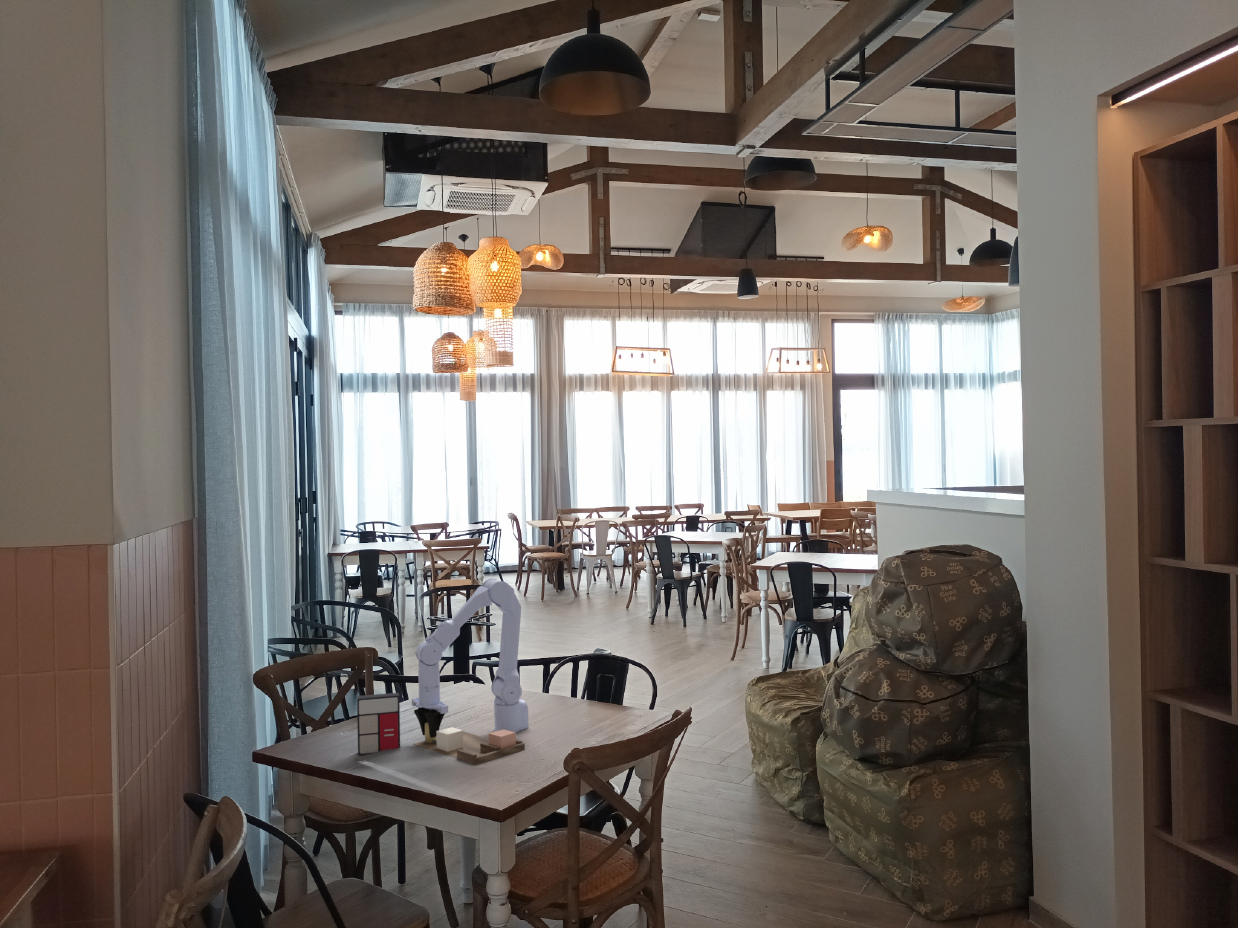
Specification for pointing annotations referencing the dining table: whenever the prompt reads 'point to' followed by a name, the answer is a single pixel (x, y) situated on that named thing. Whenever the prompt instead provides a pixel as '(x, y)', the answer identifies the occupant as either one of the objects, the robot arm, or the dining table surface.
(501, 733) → the untied block
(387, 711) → the calculator
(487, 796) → the dining table surface
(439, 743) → the tethered block
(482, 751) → the shelf
